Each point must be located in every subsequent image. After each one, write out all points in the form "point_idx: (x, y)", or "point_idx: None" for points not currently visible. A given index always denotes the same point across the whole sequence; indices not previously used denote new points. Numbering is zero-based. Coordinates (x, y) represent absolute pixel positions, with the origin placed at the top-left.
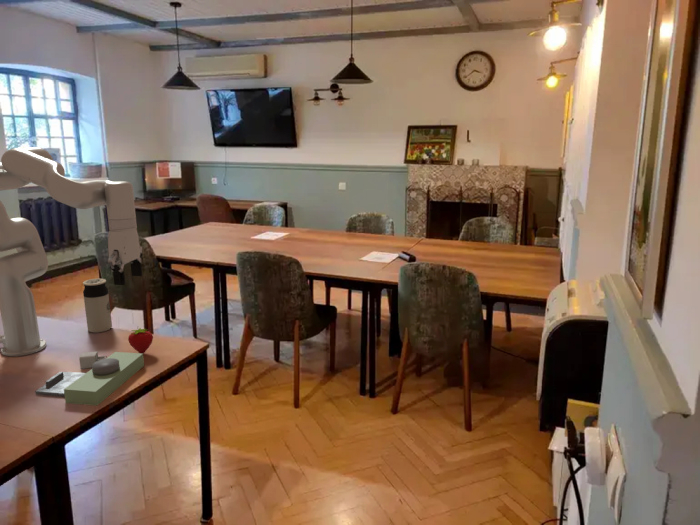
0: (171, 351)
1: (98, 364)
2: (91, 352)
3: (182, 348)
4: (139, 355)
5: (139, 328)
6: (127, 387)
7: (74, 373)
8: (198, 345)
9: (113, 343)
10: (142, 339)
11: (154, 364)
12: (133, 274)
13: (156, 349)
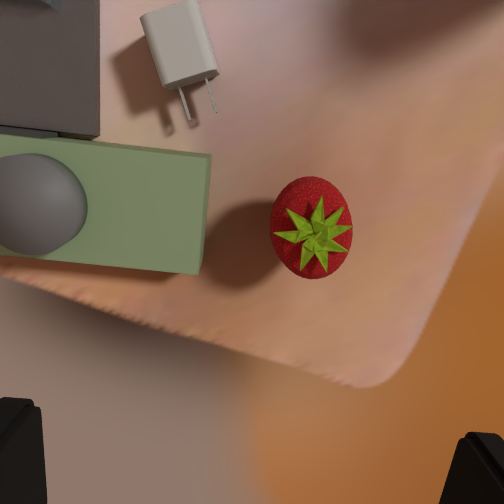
0: (322, 305)
1: (12, 182)
2: (194, 48)
3: (346, 332)
4: (180, 268)
5: (344, 226)
6: (47, 268)
7: (84, 38)
8: (370, 373)
9: (414, 42)
10: (277, 253)
11: (215, 287)
12: (463, 467)
13: None
